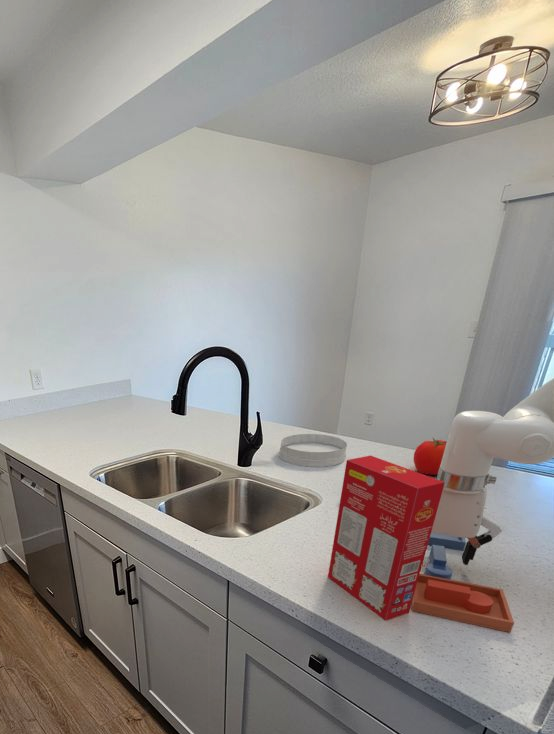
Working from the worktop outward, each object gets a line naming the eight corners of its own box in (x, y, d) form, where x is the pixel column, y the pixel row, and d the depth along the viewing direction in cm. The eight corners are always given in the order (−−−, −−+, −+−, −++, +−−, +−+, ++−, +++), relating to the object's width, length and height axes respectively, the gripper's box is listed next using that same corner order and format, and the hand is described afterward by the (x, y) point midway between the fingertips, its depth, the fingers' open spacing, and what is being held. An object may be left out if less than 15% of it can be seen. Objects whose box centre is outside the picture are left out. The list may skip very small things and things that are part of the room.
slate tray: (458, 530, 102) (461, 522, 101) (463, 550, 94) (466, 542, 94) (391, 520, 108) (392, 513, 108) (390, 538, 101) (391, 531, 100)
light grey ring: (346, 449, 158) (348, 435, 156) (344, 469, 141) (346, 454, 138) (284, 444, 167) (285, 432, 165) (274, 463, 149) (275, 449, 147)
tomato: (422, 463, 142) (430, 432, 137) (460, 473, 133) (470, 440, 128) (401, 472, 136) (408, 440, 132) (438, 482, 127) (447, 448, 123)
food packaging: (408, 612, 77) (444, 482, 66) (385, 620, 76) (418, 488, 64) (348, 571, 90) (370, 455, 78) (327, 577, 88) (346, 459, 77)
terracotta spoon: (423, 589, 82) (427, 576, 81) (488, 602, 78) (493, 588, 77) (424, 602, 79) (428, 588, 78) (492, 616, 75) (497, 602, 73)
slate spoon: (446, 559, 92) (450, 547, 90) (451, 584, 84) (455, 571, 83) (422, 555, 94) (426, 543, 92) (424, 579, 86) (428, 567, 84)
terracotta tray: (499, 598, 80) (503, 589, 79) (510, 632, 72) (514, 623, 71) (411, 580, 86) (413, 572, 85) (411, 610, 78) (414, 601, 77)
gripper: (513, 478, 81) (484, 556, 89) (407, 467, 88) (389, 540, 96) (522, 493, 75) (490, 575, 83) (408, 479, 82) (389, 556, 90)
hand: (436, 556), depth 89 cm, fingers open, 9 cm apart
